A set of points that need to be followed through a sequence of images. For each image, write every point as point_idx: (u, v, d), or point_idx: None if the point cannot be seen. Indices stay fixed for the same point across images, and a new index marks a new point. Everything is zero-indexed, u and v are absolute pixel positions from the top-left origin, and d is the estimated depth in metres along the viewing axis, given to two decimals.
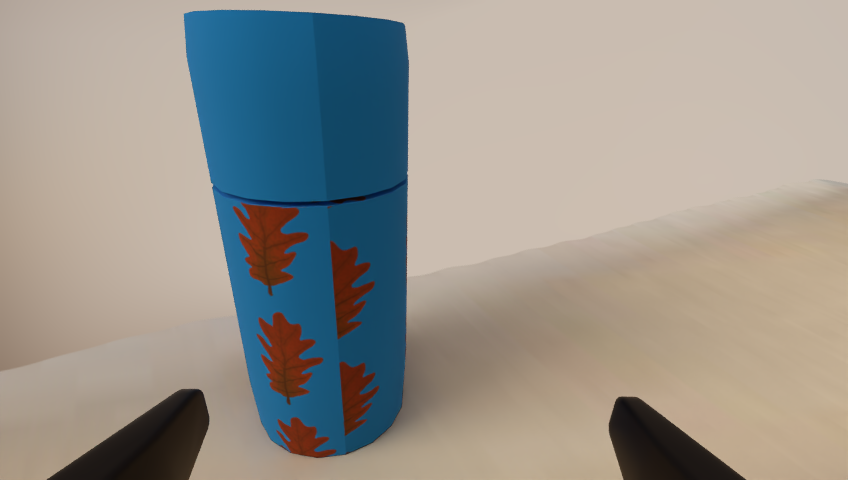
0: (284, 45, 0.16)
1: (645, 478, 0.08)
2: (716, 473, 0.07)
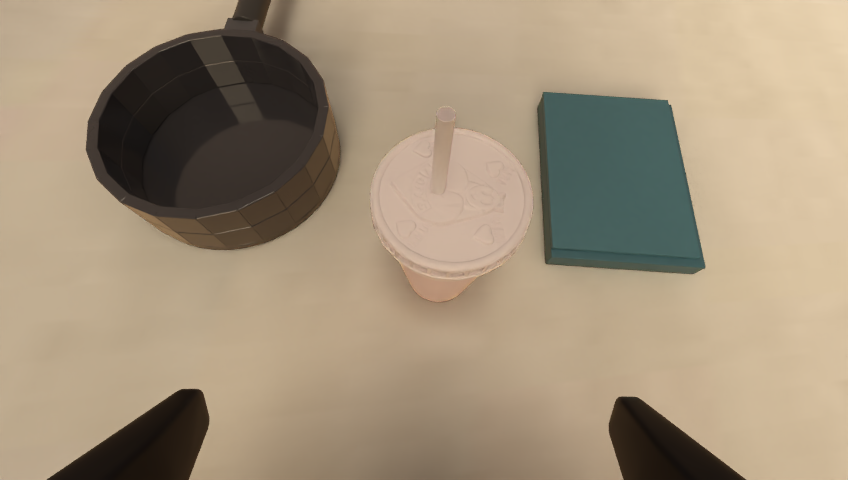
0: None
1: (645, 478, 0.08)
2: (716, 473, 0.07)
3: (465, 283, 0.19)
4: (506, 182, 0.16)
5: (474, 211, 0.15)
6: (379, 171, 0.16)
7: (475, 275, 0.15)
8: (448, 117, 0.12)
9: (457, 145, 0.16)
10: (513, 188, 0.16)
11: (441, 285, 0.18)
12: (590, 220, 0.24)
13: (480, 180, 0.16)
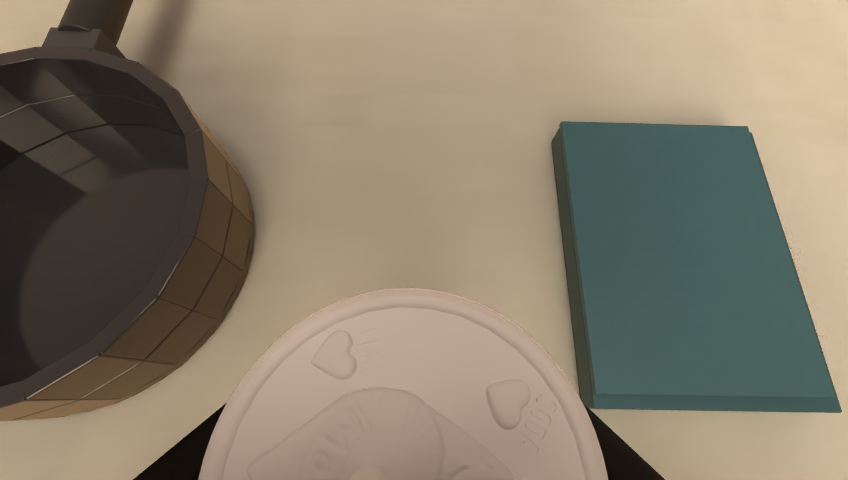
0: None
1: None
2: (635, 472, 0.07)
3: None
4: (539, 443, 0.06)
5: None
6: (223, 430, 0.06)
7: None
8: None
9: (417, 338, 0.07)
10: (558, 459, 0.06)
11: None
12: (652, 340, 0.15)
13: (475, 447, 0.06)
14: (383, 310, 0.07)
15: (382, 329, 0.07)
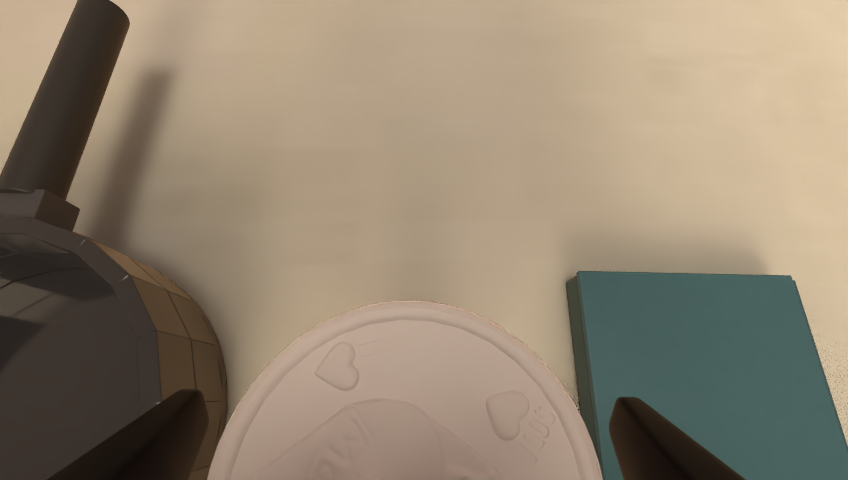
0: None
1: (645, 478, 0.08)
2: (716, 473, 0.07)
3: None
4: (537, 454, 0.07)
5: None
6: (228, 441, 0.07)
7: None
8: None
9: (418, 350, 0.07)
10: (556, 470, 0.06)
11: None
12: None
13: (475, 458, 0.06)
14: (385, 322, 0.07)
15: (384, 342, 0.07)
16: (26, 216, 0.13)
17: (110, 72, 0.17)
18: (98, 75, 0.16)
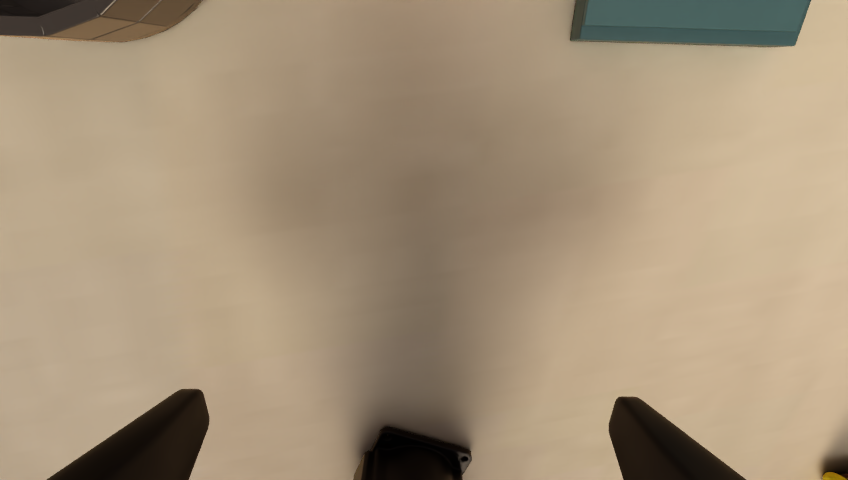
0: None
1: (645, 478, 0.08)
2: (716, 473, 0.07)
3: None
4: None
5: None
6: None
7: None
8: None
9: None
10: None
11: None
12: None
13: None
14: None
15: None
16: None
17: None
18: None
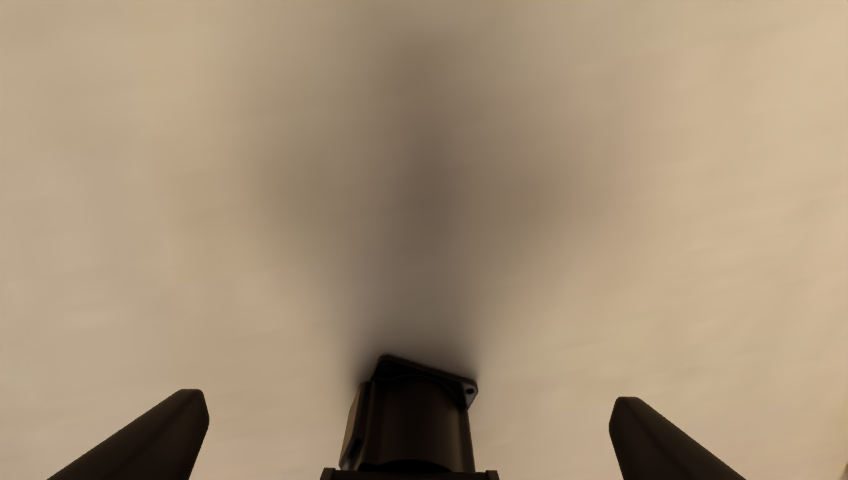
0: None
1: (645, 478, 0.08)
2: (716, 473, 0.07)
3: None
4: None
5: None
6: None
7: None
8: None
9: None
10: None
11: None
12: None
13: None
14: None
15: None
16: None
17: None
18: None
